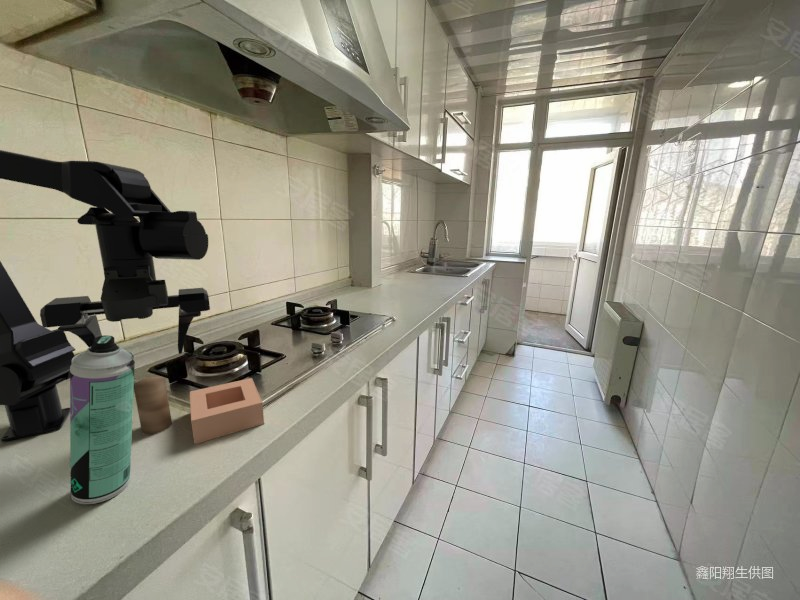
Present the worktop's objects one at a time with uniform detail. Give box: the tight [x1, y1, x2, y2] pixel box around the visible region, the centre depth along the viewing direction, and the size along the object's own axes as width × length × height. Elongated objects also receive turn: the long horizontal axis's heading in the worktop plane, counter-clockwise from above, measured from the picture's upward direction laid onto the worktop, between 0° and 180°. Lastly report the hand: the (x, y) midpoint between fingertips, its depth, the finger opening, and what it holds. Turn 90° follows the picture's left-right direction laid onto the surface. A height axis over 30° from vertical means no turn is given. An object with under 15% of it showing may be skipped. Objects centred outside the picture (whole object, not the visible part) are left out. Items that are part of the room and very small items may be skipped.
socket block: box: [189, 377, 265, 445], centre depth 56 cm, size 10×10×4 cm
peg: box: [134, 376, 173, 436], centre depth 52 cm, size 4×4×8 cm
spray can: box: [69, 335, 136, 505], centre depth 39 cm, size 6×6×20 cm
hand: (144, 358), depth 51 cm, fingers open, 9 cm apart
